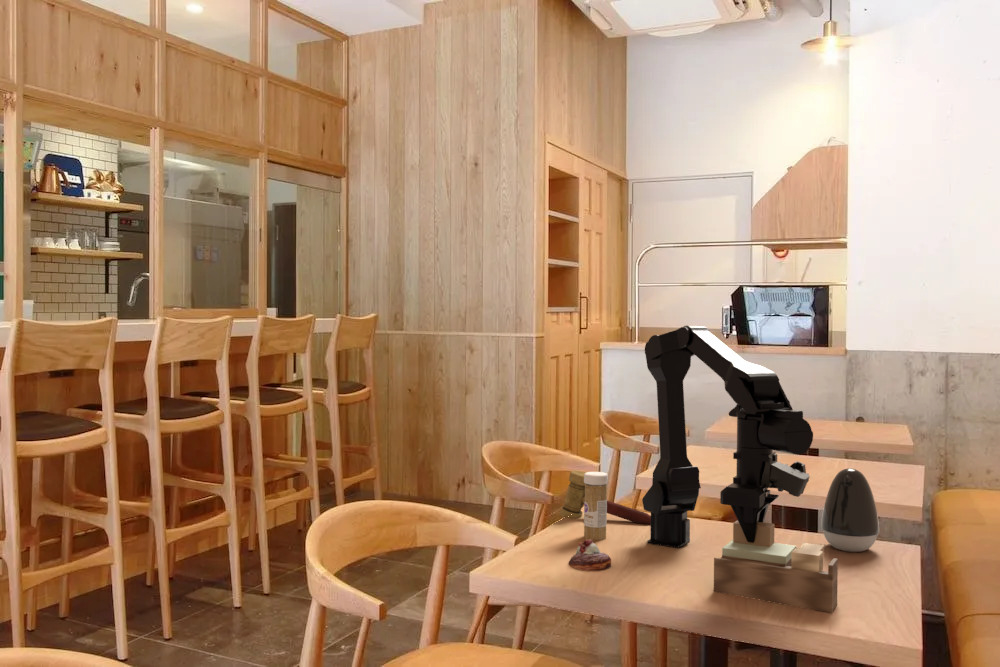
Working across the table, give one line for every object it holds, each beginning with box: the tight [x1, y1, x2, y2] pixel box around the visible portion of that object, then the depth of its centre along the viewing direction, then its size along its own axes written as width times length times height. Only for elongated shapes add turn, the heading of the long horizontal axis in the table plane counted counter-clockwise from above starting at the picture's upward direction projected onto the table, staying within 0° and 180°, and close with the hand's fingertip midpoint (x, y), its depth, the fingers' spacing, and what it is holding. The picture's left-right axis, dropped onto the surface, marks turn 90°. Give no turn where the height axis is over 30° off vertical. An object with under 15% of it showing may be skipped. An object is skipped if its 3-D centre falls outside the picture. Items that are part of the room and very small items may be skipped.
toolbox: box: [713, 554, 839, 614], centre depth 140 cm, size 18×12×7 cm
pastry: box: [568, 539, 612, 572], centre depth 152 cm, size 8×8×5 cm
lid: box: [721, 519, 797, 564], centre depth 143 cm, size 10×8×4 cm
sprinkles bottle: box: [583, 471, 609, 541], centre depth 170 cm, size 5×5×14 cm
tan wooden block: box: [791, 542, 825, 573], centre depth 135 cm, size 4×7×3 cm, turn 150°
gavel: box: [559, 470, 651, 526], centre depth 185 cm, size 21×5×10 cm, turn 70°
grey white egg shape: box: [820, 467, 880, 553], centre depth 166 cm, size 10×10×15 cm
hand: (753, 540), depth 146 cm, fingers closed on lid, 3 cm apart
